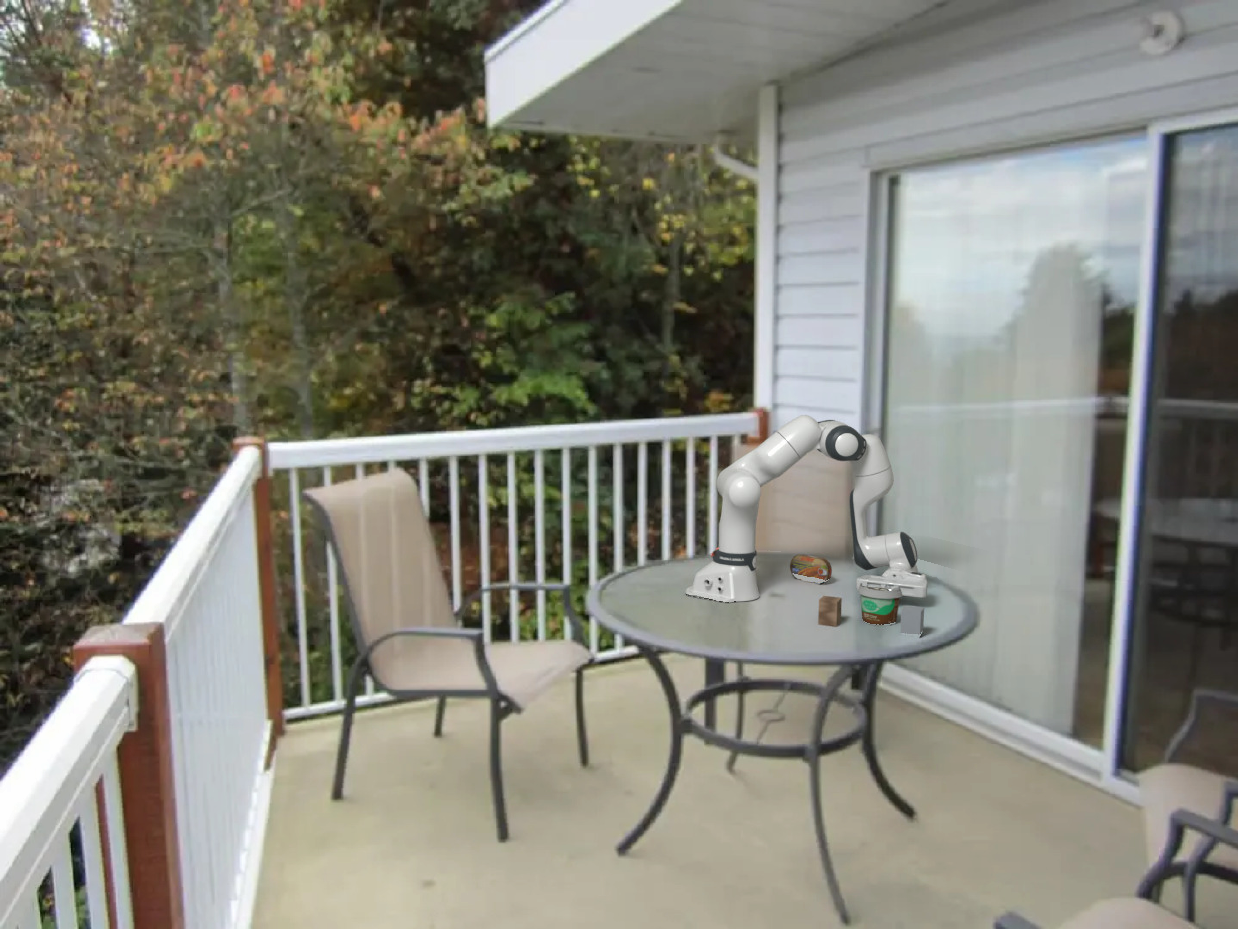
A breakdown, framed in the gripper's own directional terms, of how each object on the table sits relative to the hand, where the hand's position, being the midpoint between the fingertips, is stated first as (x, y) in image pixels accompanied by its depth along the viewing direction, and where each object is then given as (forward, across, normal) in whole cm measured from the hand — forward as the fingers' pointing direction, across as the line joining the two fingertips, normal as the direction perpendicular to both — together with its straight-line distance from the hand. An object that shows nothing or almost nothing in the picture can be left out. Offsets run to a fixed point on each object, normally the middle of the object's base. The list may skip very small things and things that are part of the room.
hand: (886, 592), depth 283 cm
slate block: (+21, +11, +5) cm, 24 cm away
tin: (-24, -29, +6) cm, 38 cm away
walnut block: (+21, -11, +5) cm, 24 cm away
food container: (+15, 0, +6) cm, 16 cm away
